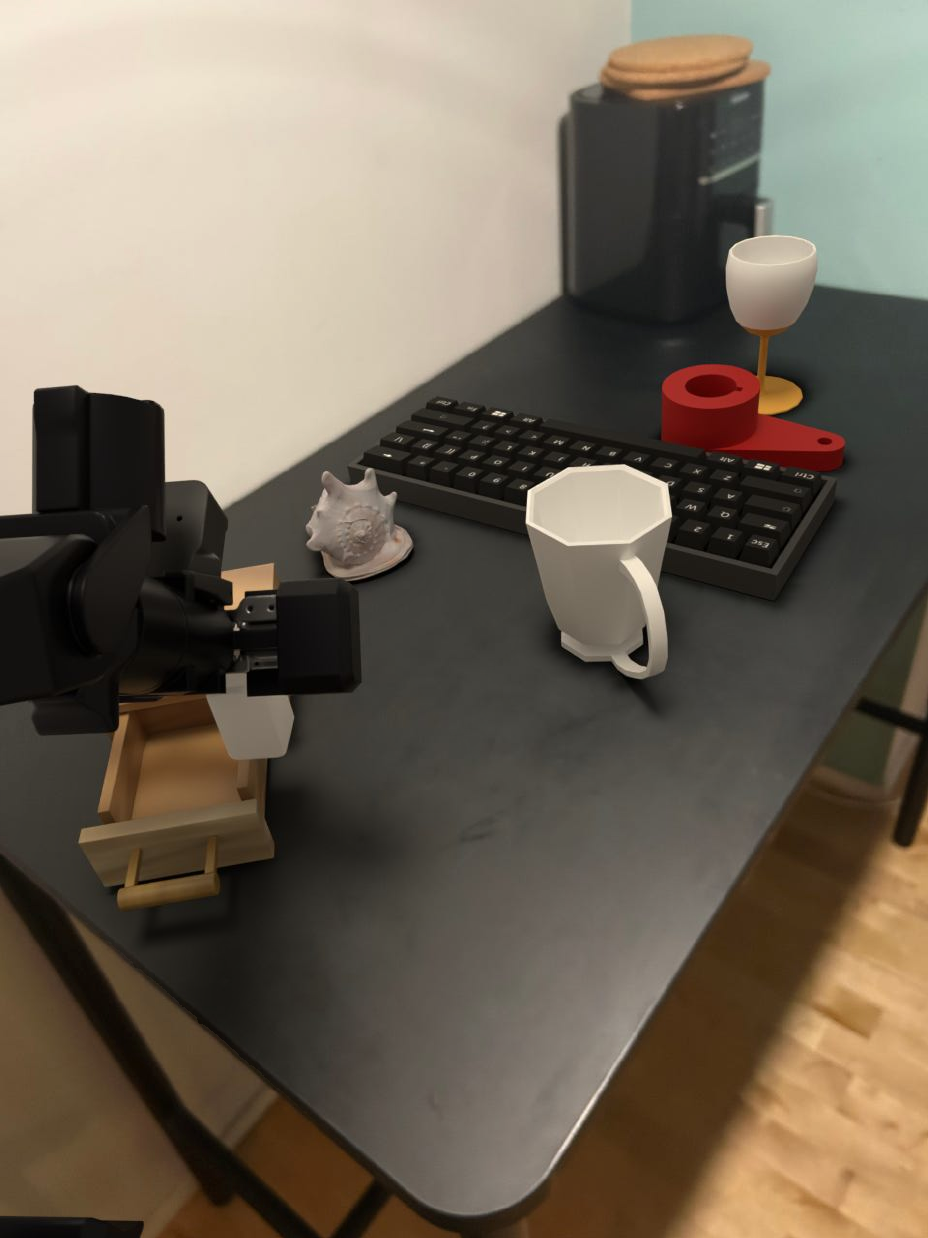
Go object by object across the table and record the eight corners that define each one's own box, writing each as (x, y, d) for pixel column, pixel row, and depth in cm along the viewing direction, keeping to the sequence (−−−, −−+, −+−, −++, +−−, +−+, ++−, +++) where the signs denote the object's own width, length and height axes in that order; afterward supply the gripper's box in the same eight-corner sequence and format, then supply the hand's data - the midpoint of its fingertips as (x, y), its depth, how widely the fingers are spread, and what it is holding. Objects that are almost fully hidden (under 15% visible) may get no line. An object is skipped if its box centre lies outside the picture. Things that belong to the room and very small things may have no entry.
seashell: (337, 600, 87) (315, 514, 81) (278, 545, 95) (253, 462, 89) (430, 553, 90) (415, 467, 84) (365, 503, 98) (347, 422, 93)
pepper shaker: (241, 720, 66) (201, 614, 60) (297, 717, 66) (263, 609, 60) (228, 764, 63) (185, 656, 57) (288, 760, 63) (250, 651, 57)
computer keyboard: (833, 502, 89) (839, 466, 87) (774, 601, 79) (778, 563, 77) (436, 418, 111) (431, 387, 108) (352, 487, 101) (344, 455, 99)
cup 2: (700, 392, 108) (707, 248, 98) (766, 370, 110) (779, 227, 100) (751, 424, 102) (764, 274, 91) (820, 399, 104) (840, 250, 94)
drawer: (272, 913, 61) (252, 868, 58) (93, 945, 61) (64, 901, 58) (279, 716, 75) (264, 671, 72) (133, 741, 74) (111, 697, 71)
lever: (648, 460, 99) (649, 401, 94) (678, 416, 105) (679, 359, 100) (831, 489, 91) (840, 426, 87) (851, 440, 97) (861, 379, 93)
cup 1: (635, 577, 84) (634, 448, 76) (727, 696, 72) (739, 557, 64) (513, 613, 82) (500, 484, 74) (588, 741, 70) (581, 603, 62)
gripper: (315, 454, 46) (381, 519, 61) (-50, 483, 48) (103, 539, 63) (322, 688, 45) (388, 694, 60) (-52, 707, 47) (104, 709, 62)
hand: (242, 653), depth 61 cm, fingers closed on pepper shaker, 4 cm apart
